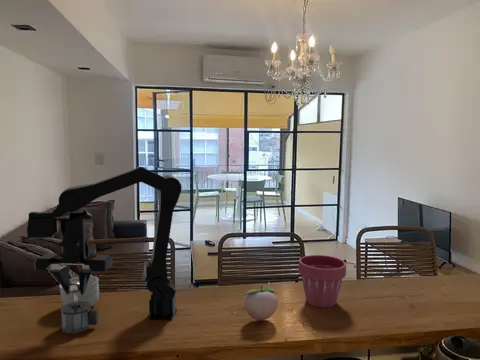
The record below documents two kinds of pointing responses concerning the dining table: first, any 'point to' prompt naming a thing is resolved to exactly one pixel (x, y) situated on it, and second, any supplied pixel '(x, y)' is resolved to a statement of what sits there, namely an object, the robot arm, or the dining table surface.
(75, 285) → the plunger
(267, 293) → the decorative fruit
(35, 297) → the dining table surface
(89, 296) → the teacup
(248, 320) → the dining table surface
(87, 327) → the octagonal grey mug
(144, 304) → the dining table surface
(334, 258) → the plant pot
